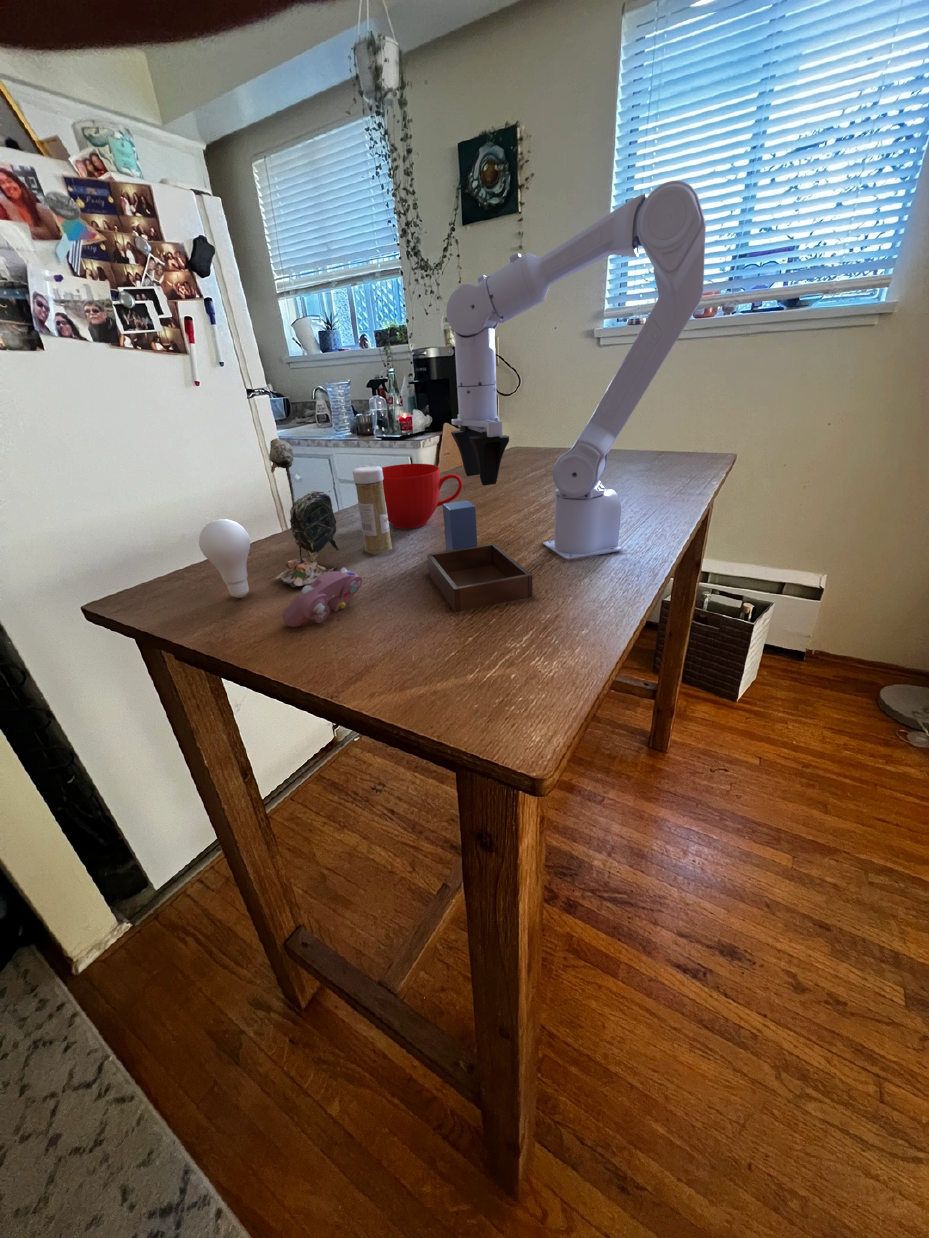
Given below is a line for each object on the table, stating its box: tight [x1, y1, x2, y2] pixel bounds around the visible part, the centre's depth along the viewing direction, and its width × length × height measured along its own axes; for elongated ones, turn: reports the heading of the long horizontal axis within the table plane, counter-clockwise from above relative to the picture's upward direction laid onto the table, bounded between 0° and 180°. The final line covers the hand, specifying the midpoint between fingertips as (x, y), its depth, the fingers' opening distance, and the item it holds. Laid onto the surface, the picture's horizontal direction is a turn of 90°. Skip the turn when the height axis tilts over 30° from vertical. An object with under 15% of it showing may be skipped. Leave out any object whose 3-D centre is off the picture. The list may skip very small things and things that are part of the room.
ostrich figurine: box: [268, 438, 340, 588], centre depth 71 cm, size 8×11×20 cm
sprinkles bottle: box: [352, 465, 393, 555], centre depth 80 cm, size 5×5×13 cm
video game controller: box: [282, 567, 363, 628], centre depth 62 cm, size 10×5×7 cm, turn 148°
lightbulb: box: [198, 518, 251, 599], centre depth 67 cm, size 6×6×11 cm
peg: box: [442, 500, 478, 552], centre depth 78 cm, size 4×4×8 cm
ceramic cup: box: [381, 463, 463, 530], centre depth 94 cm, size 13×17×10 cm
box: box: [426, 543, 533, 613], centre depth 67 cm, size 10×13×3 cm
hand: (480, 479), depth 79 cm, fingers open, 7 cm apart
